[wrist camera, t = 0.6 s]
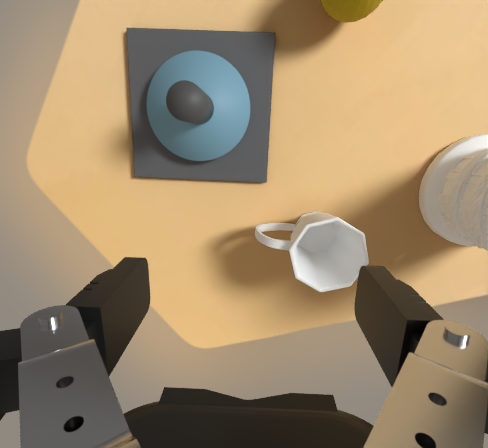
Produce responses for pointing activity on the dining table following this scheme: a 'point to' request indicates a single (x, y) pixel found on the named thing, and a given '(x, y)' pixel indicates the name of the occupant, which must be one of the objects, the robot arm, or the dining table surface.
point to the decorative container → (458, 192)
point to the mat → (252, 72)
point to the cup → (321, 249)
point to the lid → (198, 105)
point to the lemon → (349, 9)
